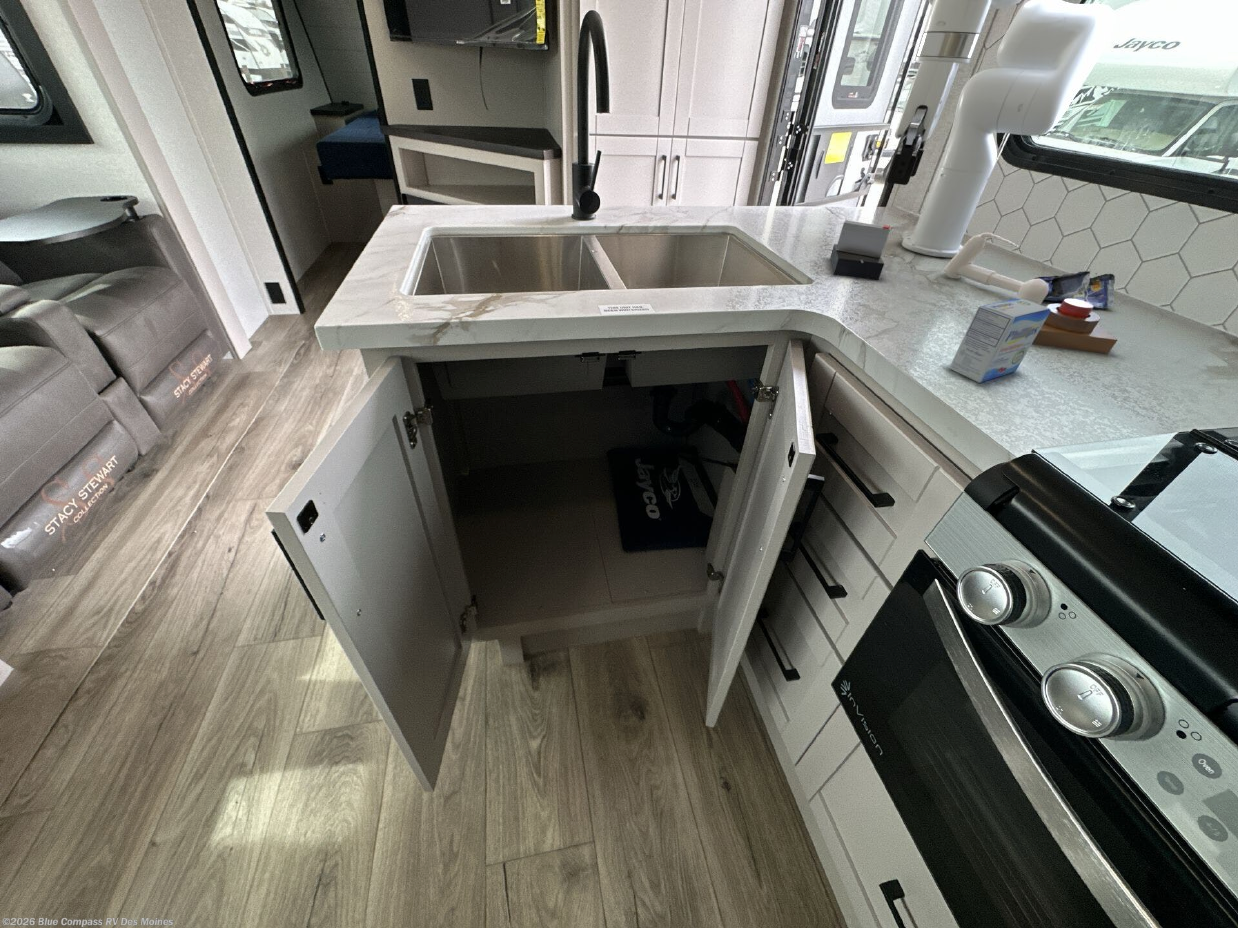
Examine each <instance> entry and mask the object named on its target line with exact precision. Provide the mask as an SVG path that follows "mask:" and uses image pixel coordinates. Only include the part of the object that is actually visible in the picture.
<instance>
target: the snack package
mask: <svg viewBox="0 0 1238 928" xmlns="http://www.w3.org/2000/svg"><path fill="white" fill-rule="evenodd" d="M1090 275H1091V270H1086V271H1078V272H1075V273H1074V272H1071V273H1068V274H1062V275H1051V276H1045V275H1044V276H1038V277H1034V279H1039V278H1040V279H1042V280H1044V281H1045V282H1046V283H1047V284H1048V287H1049V291H1048V294H1047V295H1046V297H1045V298H1044V300H1045V301H1053V302H1054V301H1062V302H1063V301H1064V299H1078V300H1082V301H1085V302H1088V303H1090V304H1092V305H1093V306H1094V307H1093V309H1094V308H1095V309H1097V308H1098V309H1099V308H1104V310H1107V309H1108V308H1111V307H1113V306H1114V305H1115V302H1114V298H1115V287H1114V286H1115V283H1116V279H1115V277H1116V276H1115V275H1114V273H1104V274H1100V275H1098V273H1097V272H1096V273H1095V275H1097V276H1093V277H1091V276H1090Z"/></svg>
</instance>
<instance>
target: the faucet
mask: <svg viewBox="0 0 1238 928" xmlns="http://www.w3.org/2000/svg"><path fill="white" fill-rule="evenodd" d="M987 238H990V239H991V238H992V239H995V240H999V241H1002V242H1005V243H1006V244H1009V245H1011V246H1013V247H1015V248H1019V244H1016V243H1014V242H1012V241H1010V240H1008V239H1006V238H1004V237H1002V236H999V235H997V234H995V233H992V232H983V233H981V234H980V233H979V234H975V235H973V236H972V237H971V238H969V239H968V240H967V241H966V242H965V243H964V245H962V246H963V247H962V249H961V250H960V251H959V252H958V253H957V254H956V255H955V256H954V257H952V258H951V259H950V260H949V262H948V263H947V264H946V265H945V267H944V268H943V272H944V273H945V274H946V275H947V276H949V277H950V278H953V279H959V278H961V277H964V278H966V279H969V280H971V281H974V282H977V283H980V284H982V285H985V286H992V287H996V288H1000V289H1004V290H1008V291H1011V292H1014V293H1017V295H1016V298H1019V299H1024V300H1027V301H1031V302H1034V303H1037V304H1039V305H1042V303H1043V302H1044V300H1045V299H1044V298H1045V297H1046V295H1047V294H1048V291H1049V287H1048V284H1047V283H1046V282H1045V281H1044V280H1042V279H1040V278H1039V279H1035V278H1033V279H1029V280H1027V281H1025V282H1023V281H1020V280H1018V279H1014V278H1011V277H1008V276H1005V275H1002V274H999V273H998V272H997V271H996V270H991V269H989V268H987V267H986V268H985V267H982V266H979V265H976V264H973V262H974V261H975V259H976V258H977V257H978V255H979V254H980V253H981V252H982V251H983V250H984V248H985V247H986V244H987ZM1016 298H1015V299H1016Z"/></svg>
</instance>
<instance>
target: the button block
mask: <svg viewBox="0 0 1238 928" xmlns="http://www.w3.org/2000/svg"><path fill="white" fill-rule="evenodd" d="M1061 304H1062V303H1048V304H1047V305H1046V307H1047V308H1049V309H1050V310H1051V312H1050V313H1049V315H1048V317H1047V319H1046V320H1045V322H1044V324H1043V325H1042V327H1041V329H1040V331H1039V332H1038V334H1037V336H1036V337H1035V339H1034V341H1033V343H1032V344H1031V345H1037V346H1044V347H1045V346H1046V347H1053V348H1059V349H1060V348H1061V349H1068V350H1075V351H1081V352H1090V353H1091V352H1092V353H1098V354H1104V355H1105V354H1106V355H1108V354H1109V353H1110V352H1111V350H1112V349H1113V348H1114V346H1115V345H1116V343H1117V342H1118V339H1117V338H1116V337H1115V336H1114V335H1113V334H1111V333H1110V332H1109V331H1107V330H1106V329H1105V328H1104V327H1102V326H1101V325H1100V324H1099V322H1100V321H1101V318H1102V317H1100V315H1098V314H1097V313H1096V312H1094V311H1091V312H1090V314H1089V315H1088V317H1087V318H1079V317H1073V316H1069V315H1066V314H1063V313H1061V312H1059V311H1058V309H1059V307H1060V306H1061Z"/></svg>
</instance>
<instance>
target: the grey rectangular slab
mask: <svg viewBox="0 0 1238 928" xmlns="http://www.w3.org/2000/svg"><path fill="white" fill-rule="evenodd" d="M891 229H892V227H891V225H888V224H884V225H879V224H872V223H867V222H860V221H853V220H848V219H846V220H844V222H843V224H842V227H841V230H840V234H839V237H838V240H837V243H836V244H837V247H836V250H837V251H842V252H848V253H853V254H859V255H864V256H870V257H875V258H880V257H881V258H882V255H883V252H884V250H885V246H886V244H887V240H888V238H889V234H890V232H891Z"/></svg>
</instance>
